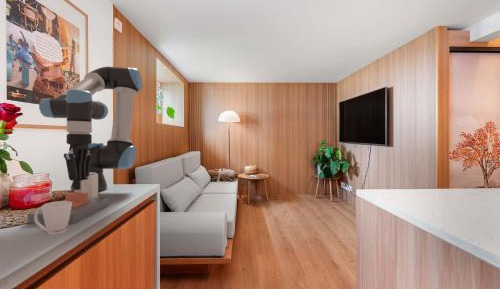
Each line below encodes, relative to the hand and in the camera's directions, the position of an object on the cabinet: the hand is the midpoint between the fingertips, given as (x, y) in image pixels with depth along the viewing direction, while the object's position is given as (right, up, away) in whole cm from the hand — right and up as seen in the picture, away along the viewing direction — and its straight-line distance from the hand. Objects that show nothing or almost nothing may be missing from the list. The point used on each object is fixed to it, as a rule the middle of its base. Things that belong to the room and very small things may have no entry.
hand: (79, 197), depth 90 cm
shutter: (0, -2, -4) cm, 4 cm away
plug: (-5, -4, +13) cm, 15 cm away
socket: (0, -5, -3) cm, 6 cm away
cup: (+6, -6, -19) cm, 21 cm away
